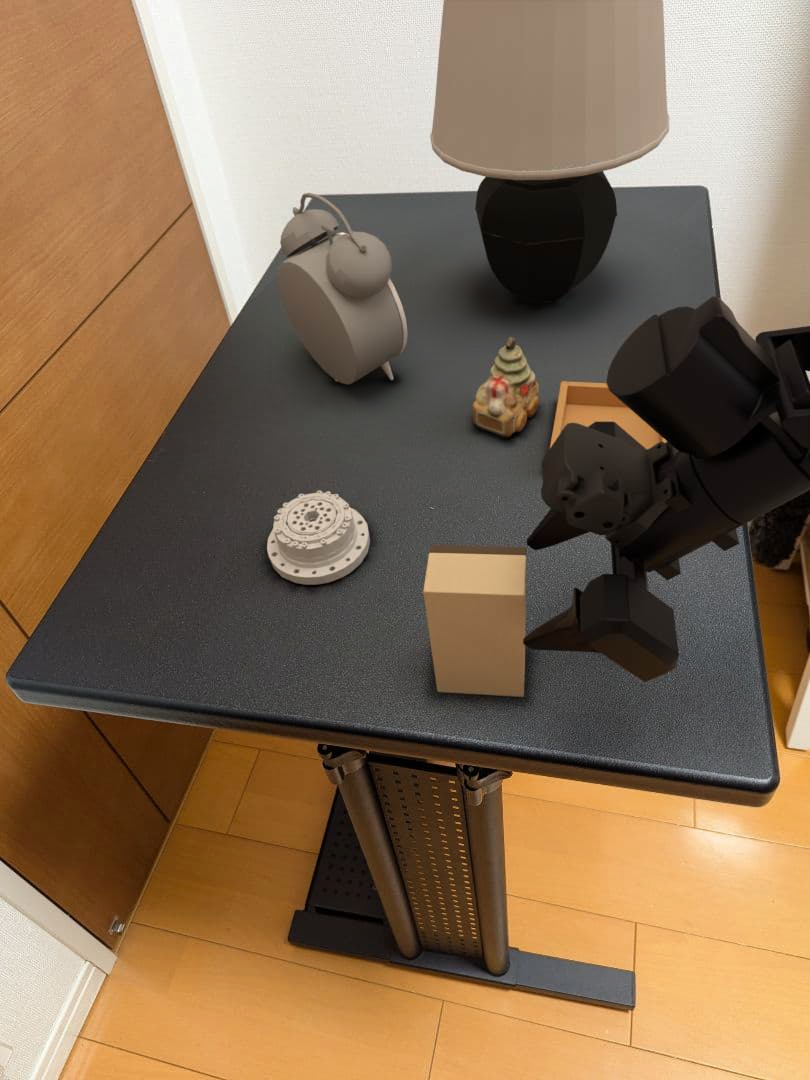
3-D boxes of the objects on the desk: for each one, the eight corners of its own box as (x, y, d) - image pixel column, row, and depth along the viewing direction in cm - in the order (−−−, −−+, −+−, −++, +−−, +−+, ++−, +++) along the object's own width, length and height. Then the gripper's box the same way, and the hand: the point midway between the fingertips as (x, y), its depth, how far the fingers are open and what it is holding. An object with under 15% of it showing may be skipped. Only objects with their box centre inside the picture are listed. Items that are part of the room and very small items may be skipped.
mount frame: (667, 409, 84) (671, 386, 82) (665, 480, 77) (670, 457, 75) (560, 403, 87) (561, 380, 85) (548, 471, 80) (549, 448, 77)
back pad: (442, 647, 66) (430, 544, 56) (525, 650, 65) (526, 546, 55) (437, 692, 63) (423, 591, 53) (523, 697, 62) (524, 595, 52)
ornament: (517, 446, 83) (517, 368, 76) (465, 433, 85) (460, 356, 78) (544, 404, 87) (546, 326, 80) (494, 393, 90) (492, 316, 82)
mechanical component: (299, 504, 80) (251, 573, 74) (289, 472, 77) (239, 542, 71) (386, 523, 77) (344, 597, 71) (380, 491, 74) (335, 565, 68)
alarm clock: (421, 386, 92) (401, 203, 76) (362, 418, 89) (329, 234, 73) (345, 334, 102) (313, 163, 86) (290, 361, 99) (246, 188, 83)
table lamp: (628, 362, 91) (680, -59, 62) (414, 338, 99) (372, -42, 71) (660, 254, 108) (713, -118, 79) (475, 241, 116) (461, -98, 87)
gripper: (621, 315, 49) (457, 447, 59) (643, 525, 36) (430, 649, 46) (727, 414, 53) (558, 522, 63) (779, 633, 41) (558, 724, 51)
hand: (528, 592), depth 56 cm, fingers open, 9 cm apart
